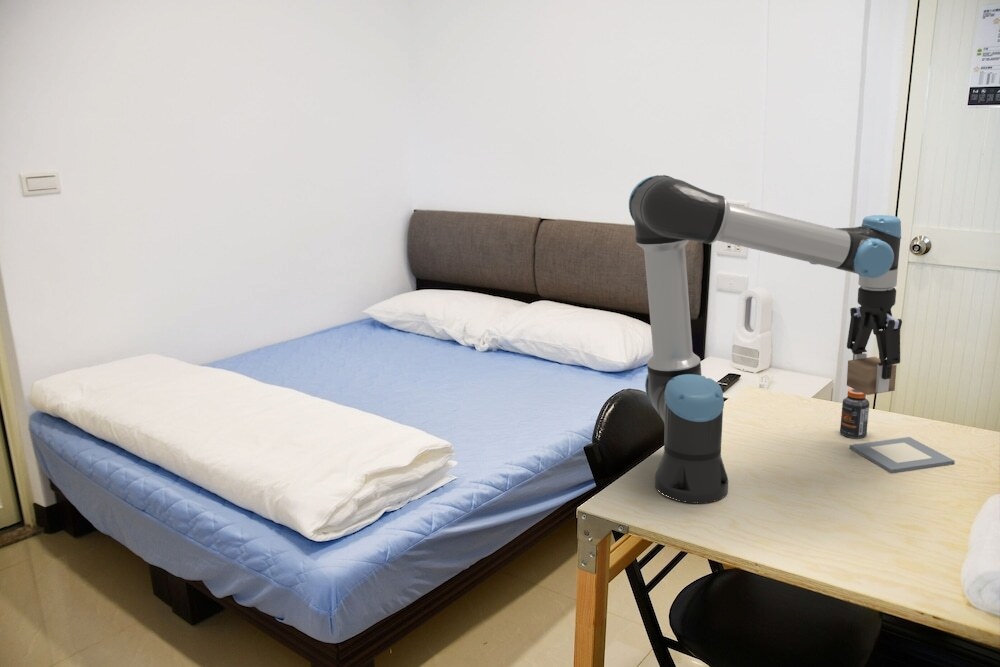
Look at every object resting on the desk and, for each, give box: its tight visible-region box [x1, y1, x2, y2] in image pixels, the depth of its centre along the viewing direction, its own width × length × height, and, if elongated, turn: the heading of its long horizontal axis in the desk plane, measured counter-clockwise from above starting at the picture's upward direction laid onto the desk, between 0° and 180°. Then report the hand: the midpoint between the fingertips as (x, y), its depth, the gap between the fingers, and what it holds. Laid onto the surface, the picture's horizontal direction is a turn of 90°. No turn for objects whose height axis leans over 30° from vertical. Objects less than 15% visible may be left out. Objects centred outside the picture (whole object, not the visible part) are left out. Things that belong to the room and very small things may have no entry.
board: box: [849, 436, 955, 474], centre depth 177 cm, size 16×14×1 cm
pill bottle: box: [839, 388, 870, 439], centre depth 188 cm, size 6×6×11 cm
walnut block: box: [846, 356, 897, 396], centre depth 175 cm, size 7×7×6 cm
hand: (870, 386), depth 176 cm, fingers closed on walnut block, 7 cm apart
